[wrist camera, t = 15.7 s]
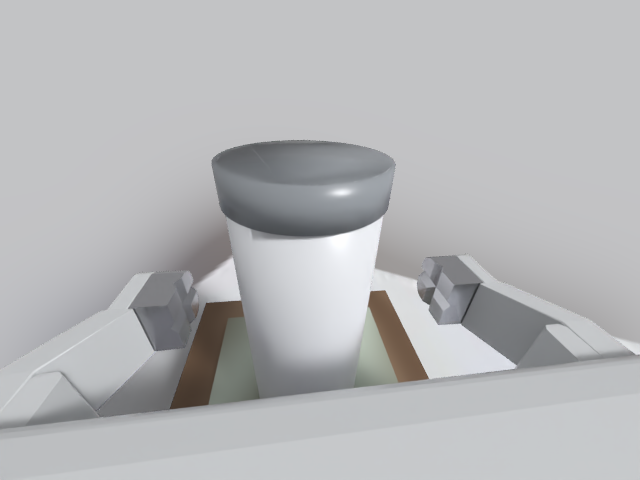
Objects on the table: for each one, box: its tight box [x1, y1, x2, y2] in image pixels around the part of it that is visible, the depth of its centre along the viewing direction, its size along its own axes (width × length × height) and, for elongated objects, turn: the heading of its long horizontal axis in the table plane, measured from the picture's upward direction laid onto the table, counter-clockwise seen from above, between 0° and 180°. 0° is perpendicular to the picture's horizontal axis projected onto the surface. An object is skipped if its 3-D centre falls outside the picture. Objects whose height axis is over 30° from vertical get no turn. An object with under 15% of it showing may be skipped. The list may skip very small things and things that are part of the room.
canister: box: [212, 140, 396, 399], centre depth 11 cm, size 5×5×12 cm
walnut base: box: [170, 290, 429, 409], centre depth 15 cm, size 14×14×4 cm
